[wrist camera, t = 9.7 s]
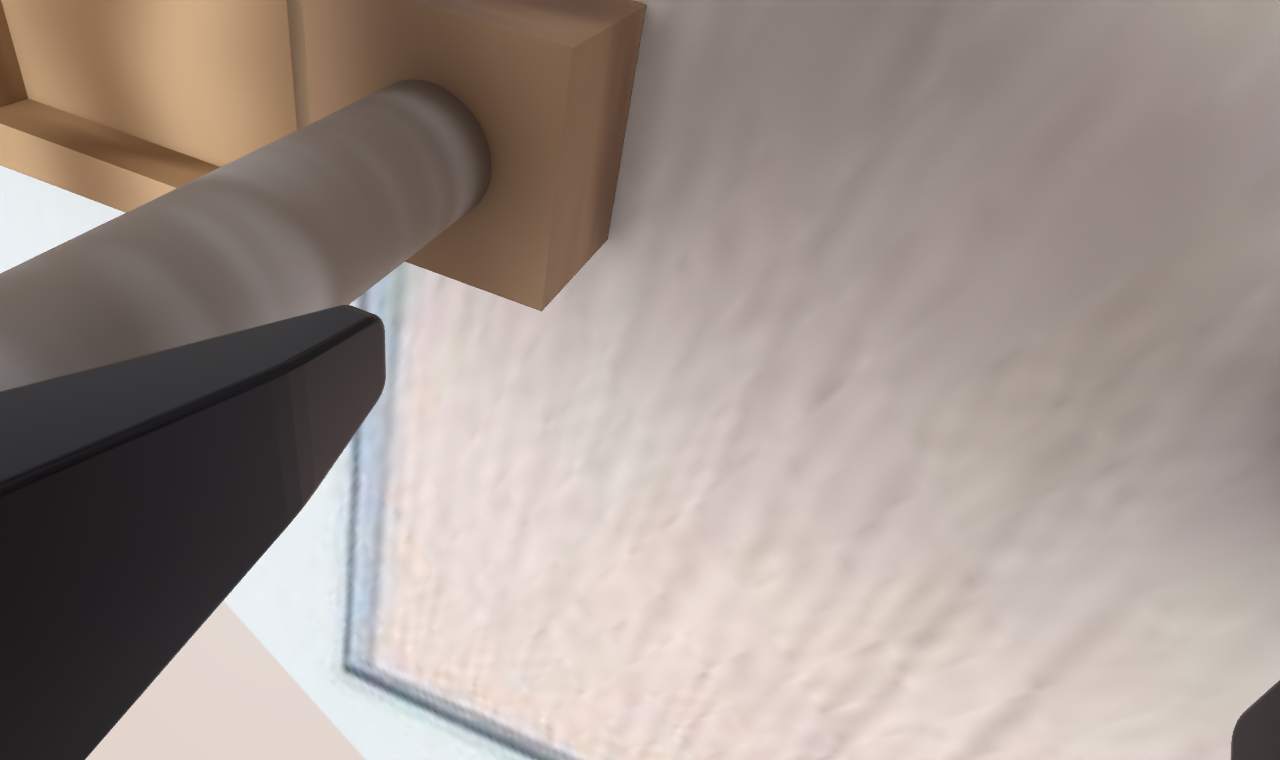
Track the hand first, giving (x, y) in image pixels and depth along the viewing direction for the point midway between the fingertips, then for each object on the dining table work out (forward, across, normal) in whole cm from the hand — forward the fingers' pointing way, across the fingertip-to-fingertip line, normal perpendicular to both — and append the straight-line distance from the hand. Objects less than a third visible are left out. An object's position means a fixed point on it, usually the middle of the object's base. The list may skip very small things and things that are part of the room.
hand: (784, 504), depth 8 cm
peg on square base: (+13, +9, +3) cm, 16 cm away
